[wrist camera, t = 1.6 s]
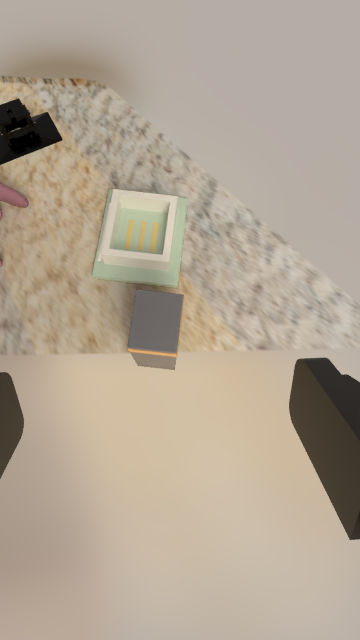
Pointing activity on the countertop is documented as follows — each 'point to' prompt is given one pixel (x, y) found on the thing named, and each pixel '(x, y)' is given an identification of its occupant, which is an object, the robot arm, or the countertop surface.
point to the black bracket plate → (24, 131)
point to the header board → (141, 238)
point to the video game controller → (11, 198)
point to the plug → (155, 328)
